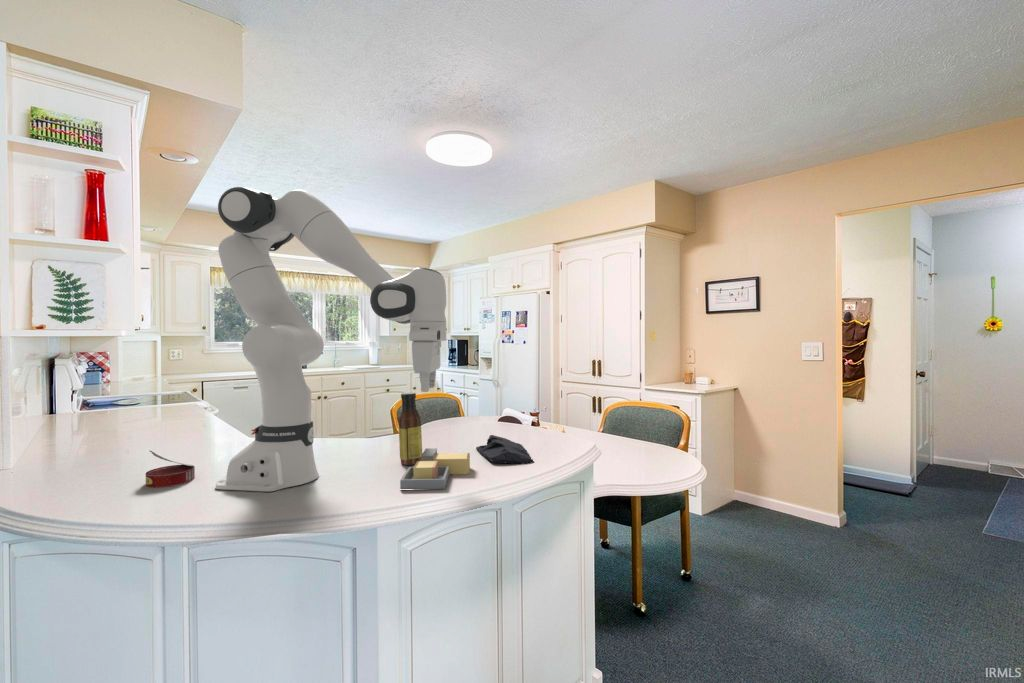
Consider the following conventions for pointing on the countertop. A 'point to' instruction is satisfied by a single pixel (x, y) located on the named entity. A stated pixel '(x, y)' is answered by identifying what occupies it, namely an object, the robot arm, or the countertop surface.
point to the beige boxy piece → (449, 460)
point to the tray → (425, 480)
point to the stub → (425, 470)
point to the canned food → (169, 474)
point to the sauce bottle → (409, 431)
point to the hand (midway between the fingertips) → (428, 389)
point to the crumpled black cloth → (504, 451)
